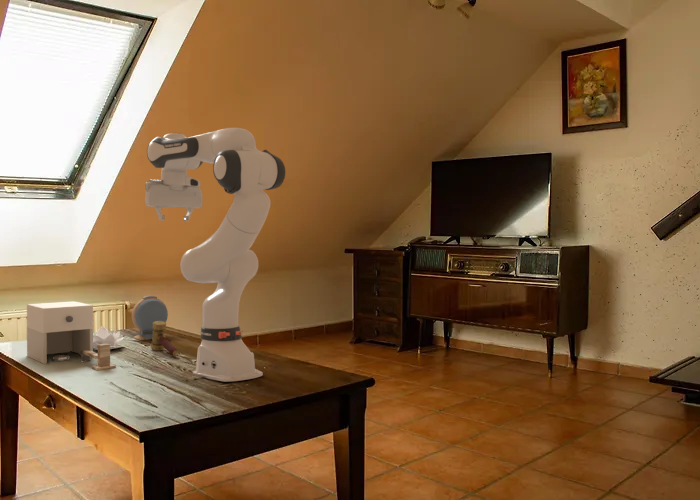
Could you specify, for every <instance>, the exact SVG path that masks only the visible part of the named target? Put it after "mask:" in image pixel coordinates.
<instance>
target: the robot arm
mask: <svg viewBox="0 0 700 500" xmlns="http://www.w3.org/2000/svg"><path fill="white" fill-rule="evenodd" d="M255 138H256V137H254V135H253V134H252V132H250V131H249V130H248V129H245V128H241V127H226V128H222V129H218V130H214V131H211V132H206V133H202V134H197V135H194V136H189V137H187V136H186V135H185V134H184V133H182V132H170V133H166V134H164V136H163V137H162V136H156V137H155V138H153V139H152V140H151V141H150V142H149V143H148V145H147V147H146V156H147V159H148V161H149V163H150V164H151V165H152V166H154V168H155V169H161V171H160V172H161V173H160V179H149V180H147V181H146V182H145V197H144V198H145V199H144V204H145V206H146V207H149V208H151V207H153V208H154V211H155V212H156V214H157V216H158V221H165V220H166V219H165V217H166V215H164V214H162V210H163V208H172V209H175V208H177V209H178V208H181V209H185V210H186V215H184V216H183V221H184V222H190V220H191V215H192V213H193V212H194V209H201V208H202V206H203V201H204V200H203V192H202V189H201V188H200V187H201V184H202V183H201V181H200V180H199V179H197V178H193V177H191V176H189V175H188V170H191V171H192V170H193V171H194V170H197V169H199V168H200V167H201V166H202V164H203V163H207V164H212V167H213V168H212V170H213V171H212V172H213V176H214V178H215V180H216V182H217V183H218V184H219V185H220V186H221V188H223V190H224V191H225V193H227V194H229V195H233V194H234V195H233V196H234V197H233V201H232V204H231V206H230V207H229V209H228V210H227V213H226V214H225V216H224V218H223V220H222V221H221V223H220V225H219V227H218V228H217V229H216V231H214V233H213V234H211V236H209V237H208V238H207V239H205V240H204V241H203V242H201V244H199V245H197V246H195V247H194V248H191V249H188V250H186V251H185V252H184V253H183V255H182V256H181V259H180V265H179V266H180V267H179V268H180V272H181V275H182V276H183V278H184V279H185V280H186V281H188V282H194V283H197V284H198V283H199V284H214V283H216V284H217V286H216V289H215V290H214V292H213V293H212V294H211V295H208V296H207V297H206V298H205V299H204V301H203V303H202V306H201V307H202V308H201V309H202V311H201V312H202V318H201V319H202V326H201V327H200V338H201V343H200V345H199V346H198V347H197V355H196V365H195V370H194V371H192V374H193V375H197V376H201V377H202V378H203V379H204V378H205V379H209V380H213V381H220V382H225V383H228V382H239V381H245V380H251V379H256V378H259V377H262V376H264V375H263V372H264V371H263V372H262V371H260V370H258V368H257V369H256V365H255V363H256V362H255V353H254V352H253V351H251V350H250V349H249V347H248V346H247V345H246V344H245V343H244V342H243V340H242V339H243V332H244V331H243V330H241V328H240V325H239V314H240V312H239V310H240V302H241V297H242V294H243V292H244V290H245V288H246V286H247V284H248V283H249V282H250V280H252V279H253V278H254V277H255V276H256V275H257V273H258V270H259V259H258V256H257V255H256V253H255V252H254V251H253V250H252V249H251V247H252V246H253V244H254V243H255V241H256V239H257V237H258V236H259V234H260V232H261V230H262V228H263V227H264V224H265V222H266V220H267V218H268V214H269V212H270V208H271V206H272V205H271V204H272V202H271V199H270V196H269V195H268V193H266V192H265V191H264V190H266V191H270V190H275V189H278V188H280V187H281V186H282V185H283V183H284V180H285V178H286V173H287V172H286V167H285V163H284V162H283V161H282V159H281V158H280V157H278V156H277V155H275V154H273V153H271V152H270V151H269V150H267V149H263V150H259V149H258V148H257V146H256V145H257V143H256V139H255Z"/></svg>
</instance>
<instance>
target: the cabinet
mask: <svg viewBox="0 0 700 500" xmlns="http://www.w3.org/2000/svg"><path fill="white" fill-rule="evenodd" d="M93 336H94V305H93V304H88V303H84V302H79V301H58V302H42V303H28V304H26V356H27V357H28V358H31V359H33V360H35V361H37V362H39V363H41V364H43V365H44V364H47V363H48V362H47V361H48V359H47V357H48V356H47V355H52V354H54V355H55V354H60V353H61V354H63V353H71V352H70V351H72V352H73V353H76V354H78V355H81V350H90V351H92V352H94V348H93ZM90 359H93V358H92V357H90Z"/></svg>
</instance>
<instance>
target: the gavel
mask: <svg viewBox="0 0 700 500" xmlns="http://www.w3.org/2000/svg"><path fill="white" fill-rule="evenodd" d="M166 327H167V322H166V323H165V322H163V321H155V322H153V329H154V330H153V338H152V339H151V340H152V341H151V343H150V349H151V350H153V351H156V352H157V351H162V350H164V349H165V350H166V351H167V352H168V353H169V354H170V355H171V356H174V357H178V355H179V354H178V353H179V352H178V349H177V348H176V347H175V346H174V345H173V344H172V343H171V342H170V341H169V340H168V339H167V337H164V336H165V330H166Z"/></svg>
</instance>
